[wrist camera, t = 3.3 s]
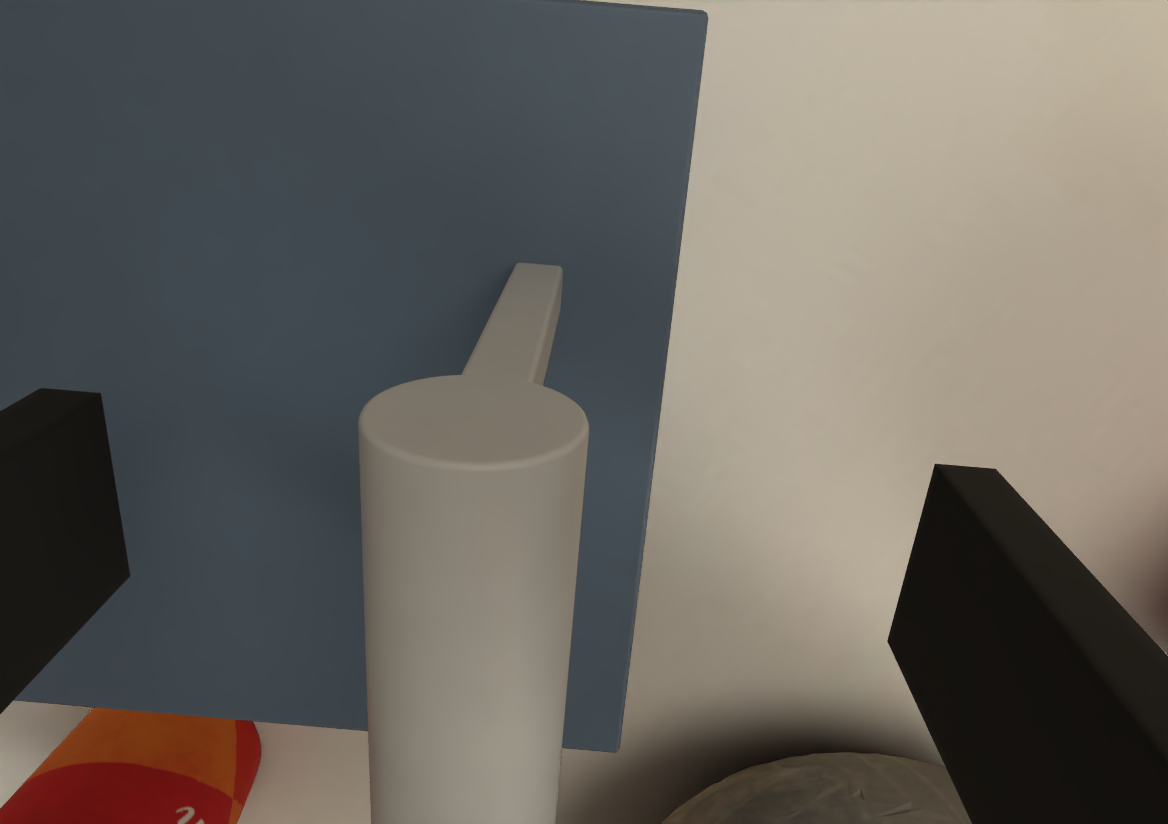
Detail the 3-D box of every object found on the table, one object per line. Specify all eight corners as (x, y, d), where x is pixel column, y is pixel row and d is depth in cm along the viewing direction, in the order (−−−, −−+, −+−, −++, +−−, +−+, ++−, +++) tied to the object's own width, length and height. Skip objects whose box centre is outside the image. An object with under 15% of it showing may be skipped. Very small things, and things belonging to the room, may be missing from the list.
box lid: (703, 13, 11) (838, -56, 4) (619, 723, 16) (619, 1219, 9) (-339, -72, 12) (-1803, -272, 5) (-112, 660, 16) (-650, 1105, 9)
